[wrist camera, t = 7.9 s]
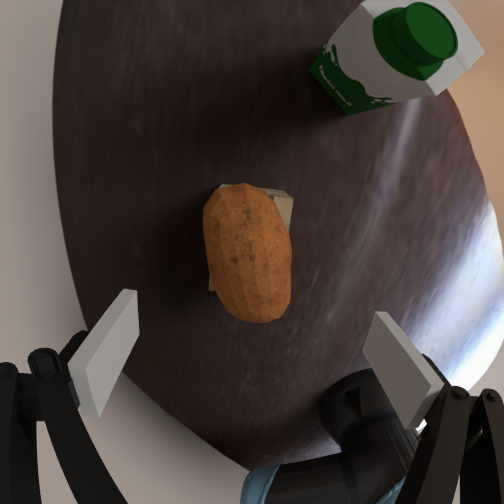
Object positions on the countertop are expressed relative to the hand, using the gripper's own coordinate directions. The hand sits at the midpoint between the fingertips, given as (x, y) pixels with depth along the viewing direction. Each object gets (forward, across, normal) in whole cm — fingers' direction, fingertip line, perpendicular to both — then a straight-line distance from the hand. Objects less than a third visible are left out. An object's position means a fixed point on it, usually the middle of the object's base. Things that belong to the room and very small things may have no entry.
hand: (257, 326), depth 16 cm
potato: (+14, 0, 0) cm, 14 cm away
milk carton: (+21, -9, -20) cm, 30 cm away
